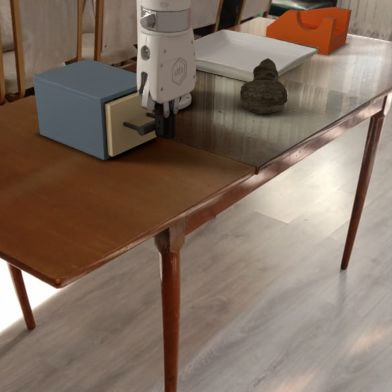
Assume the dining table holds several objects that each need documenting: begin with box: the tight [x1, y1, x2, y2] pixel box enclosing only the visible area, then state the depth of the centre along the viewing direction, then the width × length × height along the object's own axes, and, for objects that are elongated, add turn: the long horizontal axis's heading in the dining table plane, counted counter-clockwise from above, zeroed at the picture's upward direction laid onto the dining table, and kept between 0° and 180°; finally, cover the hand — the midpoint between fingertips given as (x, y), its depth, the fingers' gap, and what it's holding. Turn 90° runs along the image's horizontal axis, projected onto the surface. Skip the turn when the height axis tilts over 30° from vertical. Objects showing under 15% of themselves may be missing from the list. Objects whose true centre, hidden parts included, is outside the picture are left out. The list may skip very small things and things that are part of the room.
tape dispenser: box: [265, 6, 352, 56], centre depth 166 cm, size 18×13×8 cm
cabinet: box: [32, 58, 137, 161], centre depth 114 cm, size 17×14×11 cm
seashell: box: [239, 58, 289, 115], centre depth 128 cm, size 11×12×10 cm
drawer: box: [104, 90, 158, 158], centre depth 112 cm, size 20×12×9 cm, turn 52°
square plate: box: [194, 29, 318, 83], centre depth 151 cm, size 27×27×4 cm
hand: (165, 136), depth 107 cm, fingers closed
